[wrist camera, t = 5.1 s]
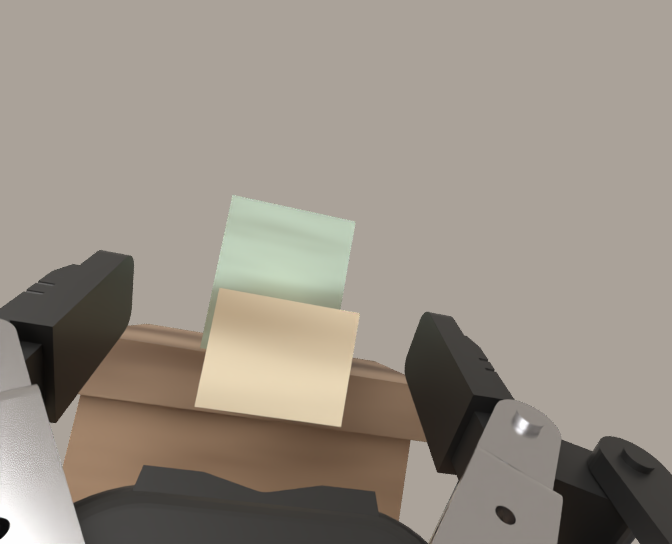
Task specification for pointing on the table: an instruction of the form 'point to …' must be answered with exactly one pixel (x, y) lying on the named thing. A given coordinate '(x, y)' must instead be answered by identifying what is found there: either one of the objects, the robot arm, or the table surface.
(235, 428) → the tool tower
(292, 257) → the mint and tan block
